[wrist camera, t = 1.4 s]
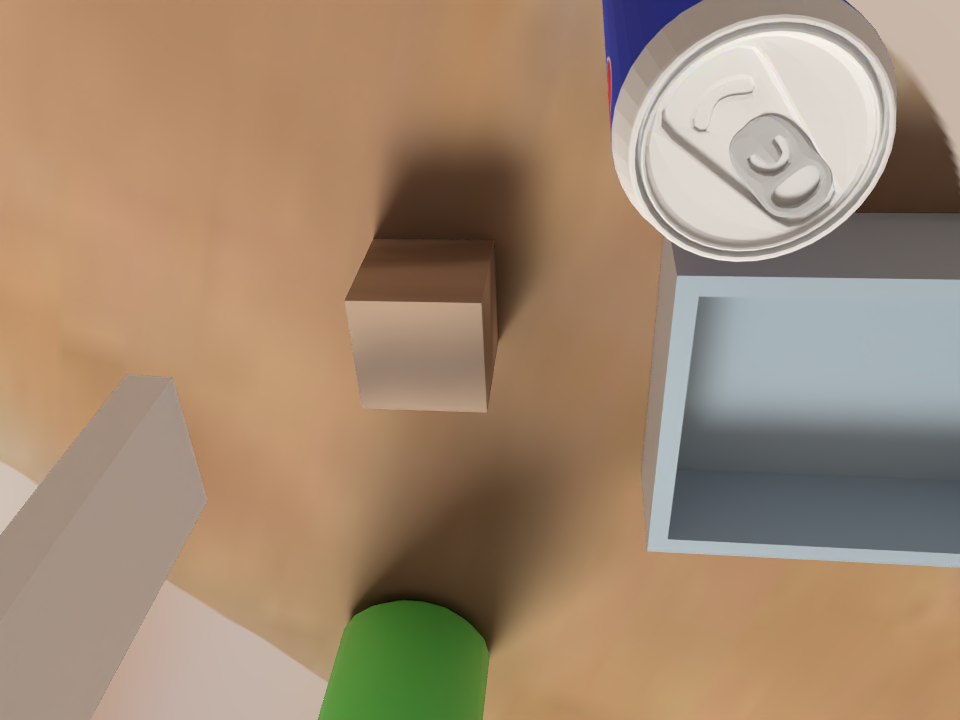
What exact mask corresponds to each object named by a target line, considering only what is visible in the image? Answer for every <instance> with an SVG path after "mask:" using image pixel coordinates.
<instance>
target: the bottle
mask: <svg viewBox="0 0 960 720" xmlns="http://www.w3.org/2000/svg"><path fill="white" fill-rule="evenodd" d="M489 656H490V655H489V652H488V649H487V646H486V643H485V640H484V638H483V637H482V636H481V635H480V634H479V633H478V632H477V631H476V630H475V628H474V627H473V626H472V625H471V624H470V623H469V622H467V621H466V620H465V619H463V618H462V617H461V616H459V615H457V614H456V613H454V612H452V611H451V610H449V609H447V608H446V607H443V606H439V605H436V604H432V603H429V602H425V601H413V600H399V601H393V602H387V603H382V604H378V605H374V606H371V607H369V608H368V609H366V610H364V611H362V612H360V613H358V614H356V615H354V617H353V618H352V619H351V621H350V622H349V623H348V625H347V626H346V627H345V629H344V632H343V635H342V639H341V642H340V645H339V649H338V652H337V656H336V659H335V663H334V666H333V669H332V673H331V676H330V680H329V683H328V687H327V690H326V693H325V697H324V700H323V704H322V707H321V710H320V714H319V717H318V720H483V711H484V702H485V693H486V683H487V674H488V665H489Z"/></svg>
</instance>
